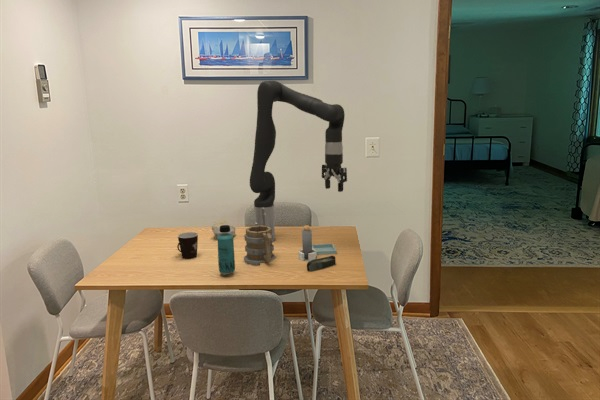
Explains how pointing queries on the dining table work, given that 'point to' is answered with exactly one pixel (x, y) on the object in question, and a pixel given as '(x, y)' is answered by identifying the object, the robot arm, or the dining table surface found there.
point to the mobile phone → (320, 263)
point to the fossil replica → (217, 228)
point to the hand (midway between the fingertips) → (334, 190)
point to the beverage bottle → (226, 251)
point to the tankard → (259, 245)
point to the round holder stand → (310, 255)
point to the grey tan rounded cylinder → (306, 241)
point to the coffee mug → (188, 245)
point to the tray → (324, 249)
